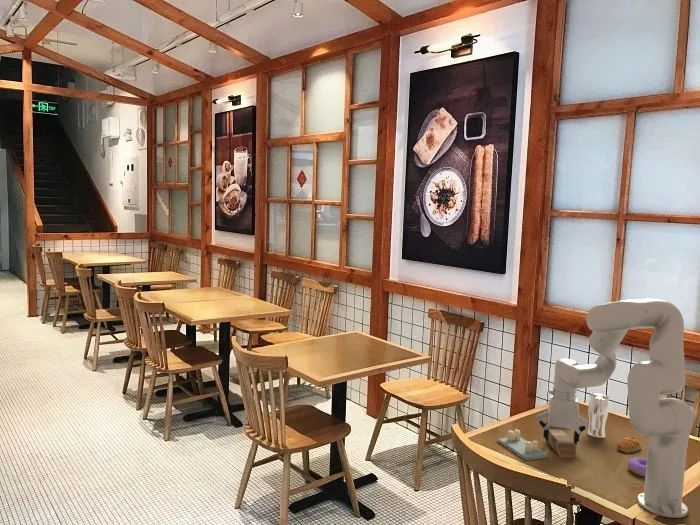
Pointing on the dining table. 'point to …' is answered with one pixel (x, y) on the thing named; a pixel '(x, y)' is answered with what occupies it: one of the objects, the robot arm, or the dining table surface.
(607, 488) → the dining table surface
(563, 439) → the plank
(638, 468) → the donut
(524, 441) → the peg board
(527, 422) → the dining table surface
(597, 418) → the beer glass
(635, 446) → the pastry
